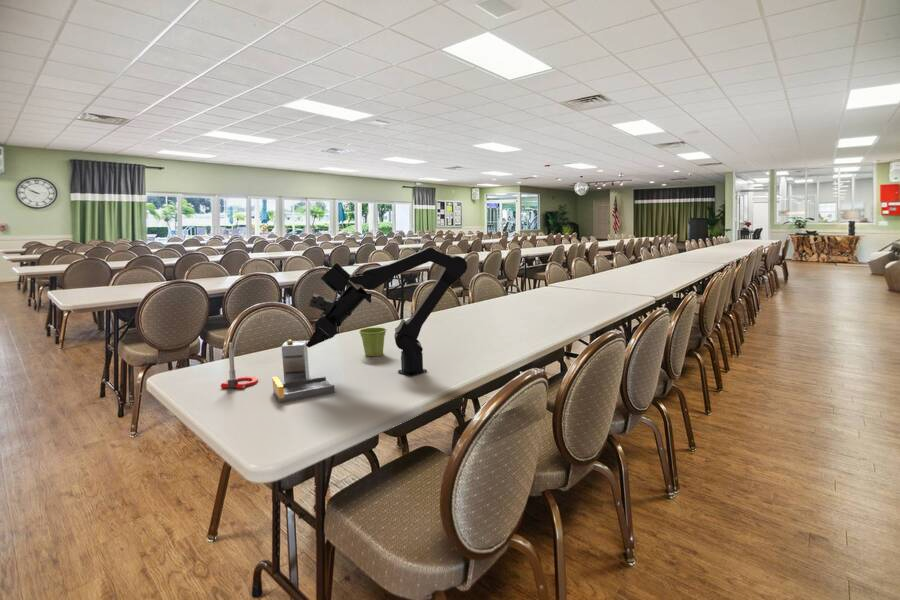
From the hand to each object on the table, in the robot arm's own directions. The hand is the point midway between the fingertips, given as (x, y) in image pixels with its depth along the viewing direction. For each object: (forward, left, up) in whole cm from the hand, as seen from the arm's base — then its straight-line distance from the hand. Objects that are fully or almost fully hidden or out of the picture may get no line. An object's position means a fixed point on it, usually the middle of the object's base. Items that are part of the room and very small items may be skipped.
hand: (309, 342), depth 135 cm
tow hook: (+11, +16, -11) cm, 23 cm away
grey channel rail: (-9, +7, -11) cm, 16 cm away
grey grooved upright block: (+2, +3, -11) cm, 12 cm away
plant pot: (+9, -28, -11) cm, 32 cm away
